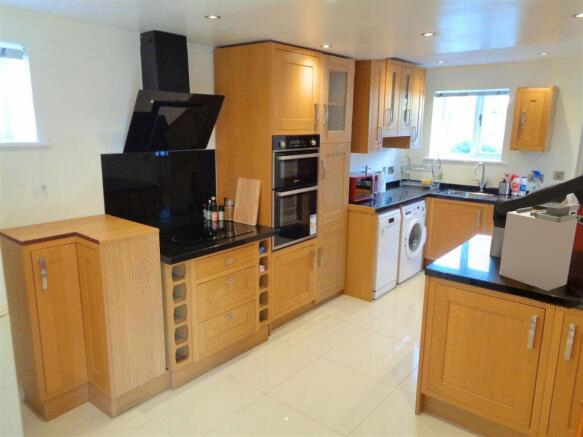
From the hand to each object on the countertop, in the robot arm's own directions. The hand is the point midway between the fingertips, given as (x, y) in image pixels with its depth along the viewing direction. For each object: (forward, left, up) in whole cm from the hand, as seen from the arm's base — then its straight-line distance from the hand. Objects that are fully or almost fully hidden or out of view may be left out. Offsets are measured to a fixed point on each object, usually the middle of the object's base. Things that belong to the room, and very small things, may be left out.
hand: (581, 215), depth 206 cm
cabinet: (-19, -17, -31) cm, 40 cm away
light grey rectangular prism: (-10, -14, +2) cm, 17 cm away
